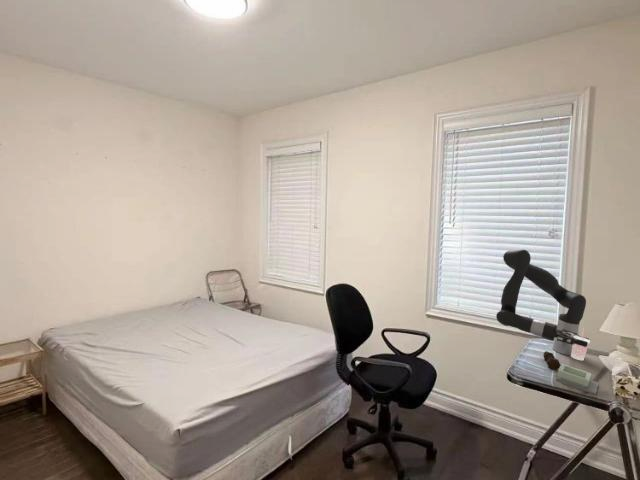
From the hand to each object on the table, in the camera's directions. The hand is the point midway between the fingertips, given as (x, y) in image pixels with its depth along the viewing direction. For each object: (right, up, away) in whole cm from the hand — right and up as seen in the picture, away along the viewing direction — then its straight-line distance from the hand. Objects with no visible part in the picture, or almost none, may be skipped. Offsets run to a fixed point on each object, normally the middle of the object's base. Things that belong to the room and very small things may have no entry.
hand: (587, 342), depth 148 cm
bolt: (-3, -17, +21) cm, 27 cm away
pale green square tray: (-3, -18, +3) cm, 19 cm away
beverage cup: (-3, -8, +3) cm, 9 cm away
